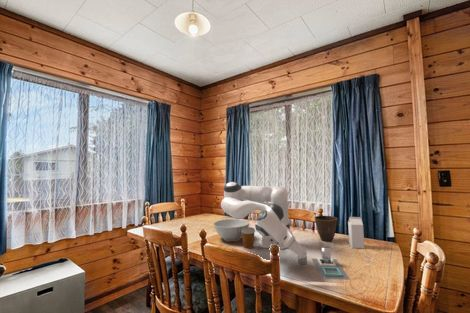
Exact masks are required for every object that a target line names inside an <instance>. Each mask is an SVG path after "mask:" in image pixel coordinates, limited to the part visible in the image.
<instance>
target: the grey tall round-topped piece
mask: <svg viewBox="0 0 470 313" xmlns="http://www.w3.org/2000/svg"><path fill="white" fill-rule="evenodd" d="M320 251H321V252H320V253H321V254H320V255H321V259H322V264H331V259H332V256H331V254H332V253H331V247H328V246H321V248H320Z"/></svg>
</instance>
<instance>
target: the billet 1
mask: <svg viewBox="0 0 470 313" xmlns="http://www.w3.org/2000/svg"><path fill="white" fill-rule="evenodd" d="M300 246H301V247H302V248H303V249H304V250H305V254H306V255H308V253H307V247H306V246H305V245H300ZM297 264H298V265H300V266H306V265H307V264H308V256H306V257H305V258H304V257H303V256H302V257H299V256H298V255H297Z"/></svg>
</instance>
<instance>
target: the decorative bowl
mask: <svg viewBox="0 0 470 313" xmlns="http://www.w3.org/2000/svg"><path fill="white" fill-rule="evenodd" d="M213 227H214V230H215V231H216V233H217V235H218V236H219V237H220V238H222V239H223V241H225V240H226V241H225V242H228V241H234V242H238V241H241V239H242V238H243V237H242V232H241V230H242V228H245V227H250V222H249V221H248V220H247V219H243V218H242V219H236V218H228V219H221V220H217V221H215V222H214V223H213Z"/></svg>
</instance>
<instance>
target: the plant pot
mask: <svg viewBox="0 0 470 313" xmlns="http://www.w3.org/2000/svg"><path fill="white" fill-rule="evenodd" d="M314 220H315V226H316V229H317V232H318V235H319V238H320V240H321V242H324V243H332V242H333V241H334V239H335V234H336V230H337V225H338V218H337V217H336V216H330V215H317V216H315V217H314Z"/></svg>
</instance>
